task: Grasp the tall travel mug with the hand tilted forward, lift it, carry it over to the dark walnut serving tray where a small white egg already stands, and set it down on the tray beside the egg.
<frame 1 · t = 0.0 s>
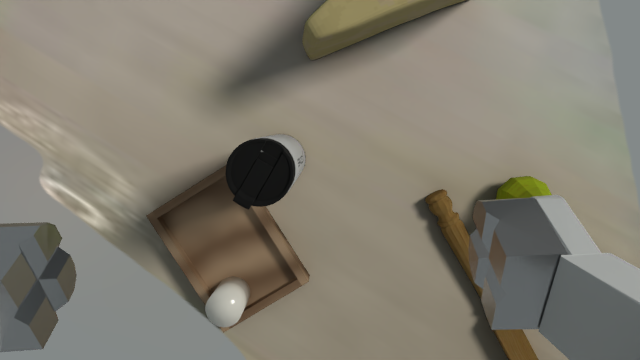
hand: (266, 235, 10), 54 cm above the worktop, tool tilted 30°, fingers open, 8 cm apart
fruit: (513, 197, 64), on the worktop
cheese: (383, 10, 62), on the worktop
tray: (231, 243, 66), on the worktop
tap handle: (484, 290, 66), on the worktop
travel mug: (281, 159, 64), on the worktop
white egg: (233, 292, 65), point 1 cm above the worktop, touching tray
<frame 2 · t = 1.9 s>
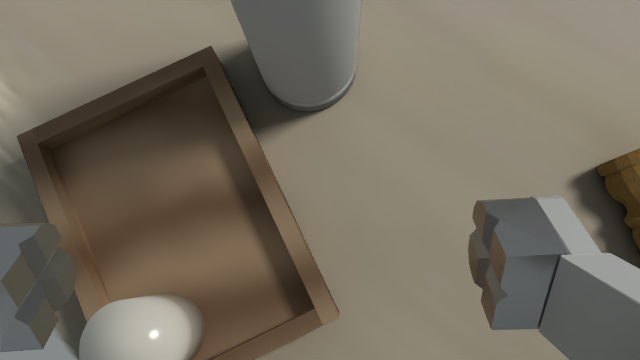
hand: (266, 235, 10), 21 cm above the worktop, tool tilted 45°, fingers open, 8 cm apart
tray: (184, 226, 31), on the worktop
travel mug: (307, 70, 33), on the worktop
white egg: (168, 330, 29), point 1 cm above the worktop, touching tray
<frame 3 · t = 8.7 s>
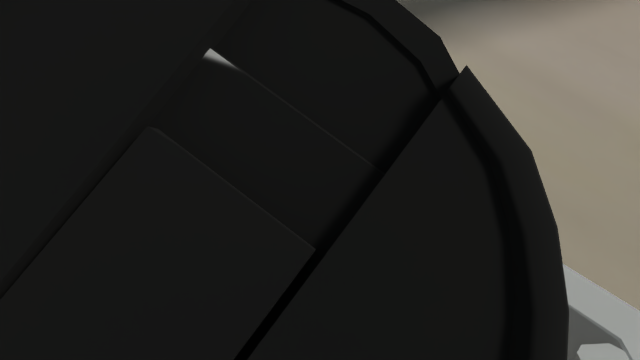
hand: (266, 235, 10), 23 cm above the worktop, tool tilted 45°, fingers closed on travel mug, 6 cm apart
travel mug: (306, 253, 23), point 10 cm above the worktop, touching gripper
when the fingers open (15 cm above the worktop, at t = 10.7 s): travel mug stays where it is, resting on tray.
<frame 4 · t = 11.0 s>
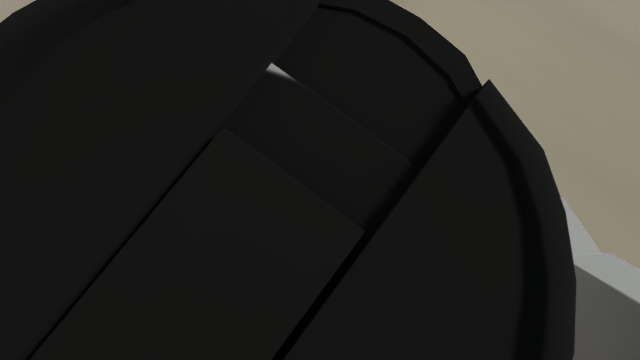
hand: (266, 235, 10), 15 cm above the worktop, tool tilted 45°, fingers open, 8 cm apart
travel mug: (307, 257, 24), point 1 cm above the worktop, touching tray
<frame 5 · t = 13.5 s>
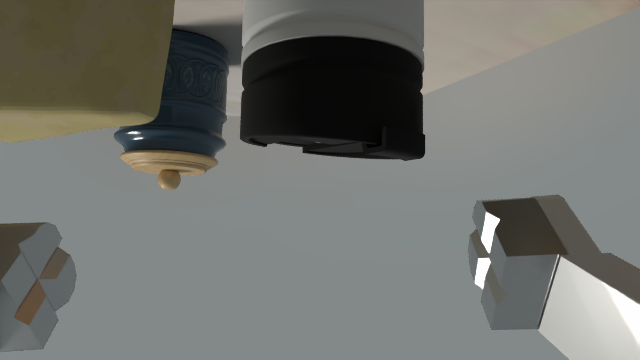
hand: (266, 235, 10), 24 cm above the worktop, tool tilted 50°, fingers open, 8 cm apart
canister: (177, 47, 62), on the worktop
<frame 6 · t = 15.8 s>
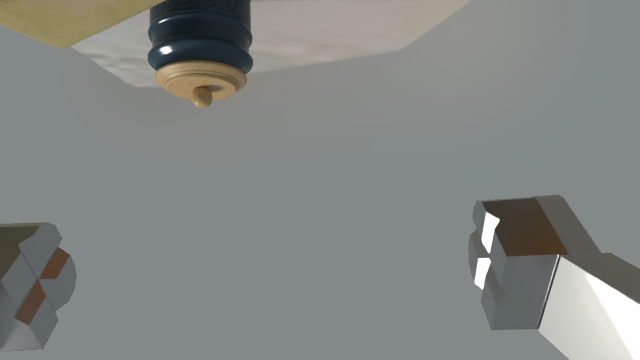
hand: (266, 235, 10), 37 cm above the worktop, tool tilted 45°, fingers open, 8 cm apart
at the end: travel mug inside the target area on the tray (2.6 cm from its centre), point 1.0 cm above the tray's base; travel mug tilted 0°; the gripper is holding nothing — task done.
